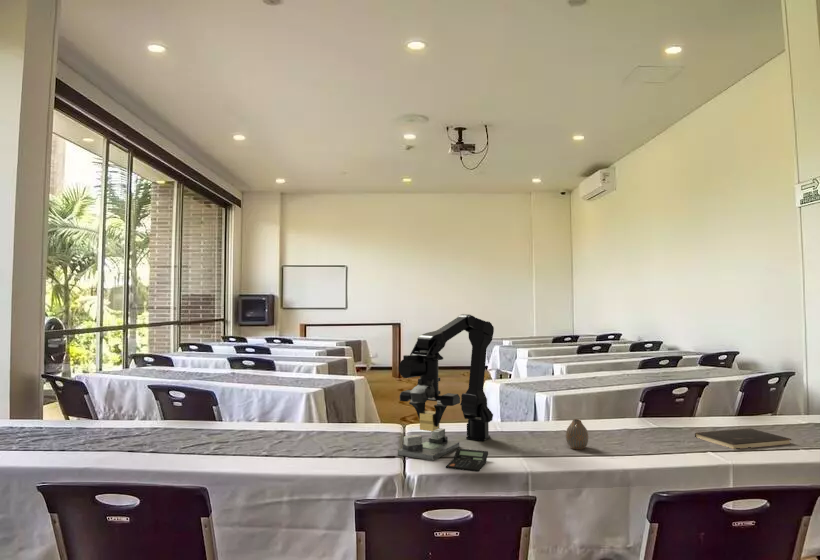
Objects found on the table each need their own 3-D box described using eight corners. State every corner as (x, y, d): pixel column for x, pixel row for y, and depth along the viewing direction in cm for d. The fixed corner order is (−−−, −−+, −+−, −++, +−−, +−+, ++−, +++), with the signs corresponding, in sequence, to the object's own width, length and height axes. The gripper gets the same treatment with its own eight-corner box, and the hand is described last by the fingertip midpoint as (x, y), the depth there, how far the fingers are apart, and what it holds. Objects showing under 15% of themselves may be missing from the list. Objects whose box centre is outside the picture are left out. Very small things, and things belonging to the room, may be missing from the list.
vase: (577, 452, 169) (576, 423, 170) (561, 446, 175) (560, 419, 176) (593, 449, 173) (593, 420, 173) (577, 444, 179) (577, 416, 179)
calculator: (445, 469, 153) (445, 458, 153) (457, 458, 164) (457, 448, 164) (478, 472, 150) (478, 461, 150) (488, 461, 161) (488, 451, 161)
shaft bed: (459, 446, 176) (459, 430, 176) (433, 460, 160) (433, 442, 160) (426, 442, 182) (426, 426, 182) (397, 455, 166) (397, 437, 166)
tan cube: (439, 428, 172) (439, 411, 172) (432, 431, 168) (432, 414, 168) (426, 426, 175) (426, 410, 175) (419, 429, 171) (419, 413, 171)
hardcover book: (791, 446, 178) (791, 438, 178) (733, 451, 172) (733, 443, 172) (749, 434, 193) (748, 427, 193) (694, 438, 187) (694, 432, 187)
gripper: (390, 376, 170) (390, 427, 169) (444, 380, 160) (444, 434, 160) (408, 372, 179) (408, 420, 179) (460, 375, 170) (461, 426, 169)
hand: (429, 425), depth 171 cm, fingers closed on tan cube, 5 cm apart
